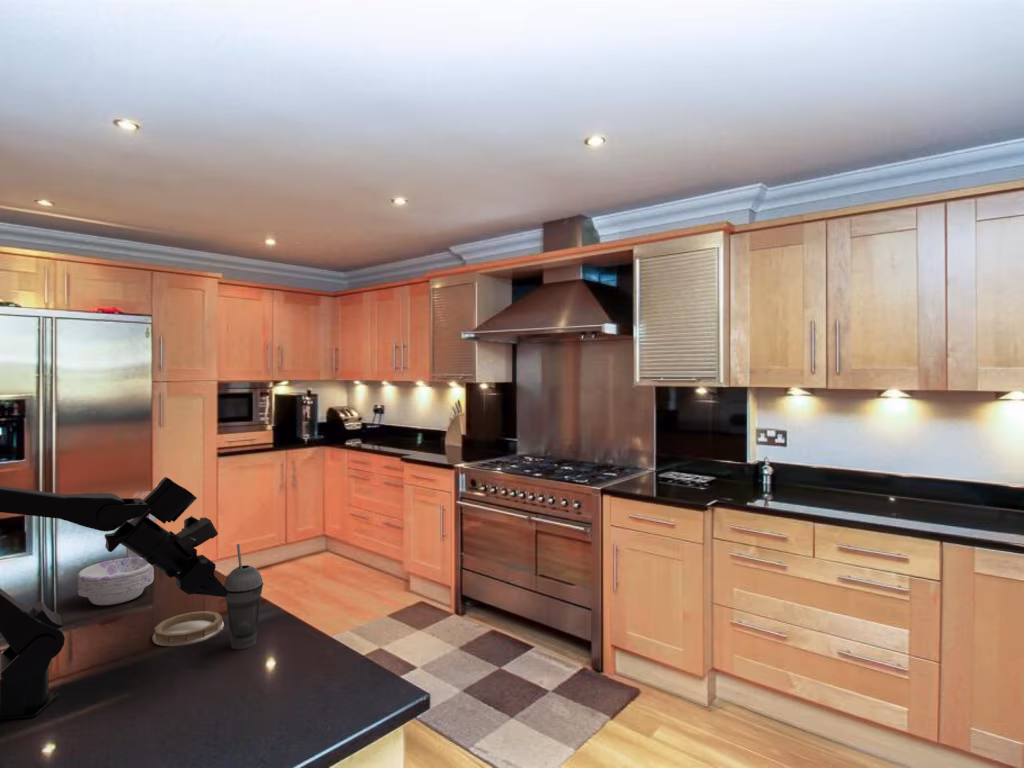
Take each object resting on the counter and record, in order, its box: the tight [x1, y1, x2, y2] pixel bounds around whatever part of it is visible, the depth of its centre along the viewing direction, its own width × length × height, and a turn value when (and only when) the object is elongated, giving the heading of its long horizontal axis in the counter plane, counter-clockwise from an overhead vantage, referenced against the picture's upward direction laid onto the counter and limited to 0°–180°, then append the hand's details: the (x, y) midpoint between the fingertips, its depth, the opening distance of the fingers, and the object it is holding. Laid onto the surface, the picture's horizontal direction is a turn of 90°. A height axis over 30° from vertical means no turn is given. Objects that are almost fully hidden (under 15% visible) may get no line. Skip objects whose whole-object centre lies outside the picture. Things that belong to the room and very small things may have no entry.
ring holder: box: [152, 610, 225, 647], centre depth 119 cm, size 13×13×2 cm
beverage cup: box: [223, 543, 264, 650], centre depth 113 cm, size 7×7×20 cm
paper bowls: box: [77, 557, 155, 606], centre depth 138 cm, size 15×15×8 cm
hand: (219, 588), depth 110 cm, fingers open, 9 cm apart
